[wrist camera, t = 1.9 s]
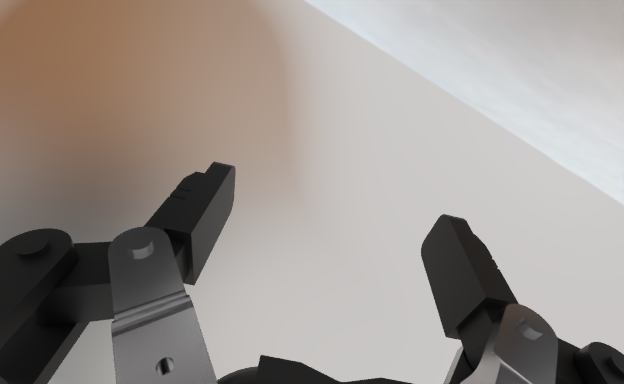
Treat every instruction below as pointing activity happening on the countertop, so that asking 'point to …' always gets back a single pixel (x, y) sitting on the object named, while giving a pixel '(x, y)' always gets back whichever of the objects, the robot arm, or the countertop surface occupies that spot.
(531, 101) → the countertop surface
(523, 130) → the countertop surface
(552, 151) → the countertop surface
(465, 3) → the countertop surface
